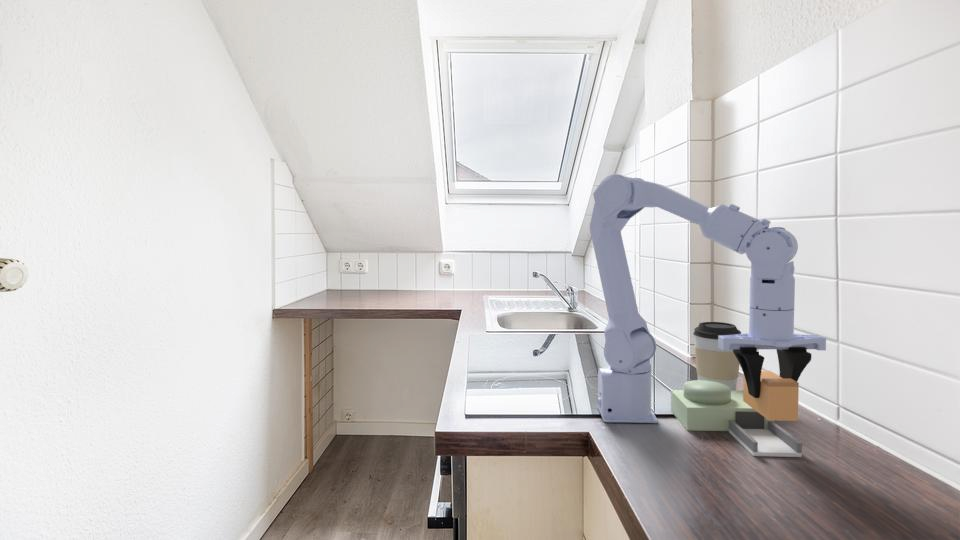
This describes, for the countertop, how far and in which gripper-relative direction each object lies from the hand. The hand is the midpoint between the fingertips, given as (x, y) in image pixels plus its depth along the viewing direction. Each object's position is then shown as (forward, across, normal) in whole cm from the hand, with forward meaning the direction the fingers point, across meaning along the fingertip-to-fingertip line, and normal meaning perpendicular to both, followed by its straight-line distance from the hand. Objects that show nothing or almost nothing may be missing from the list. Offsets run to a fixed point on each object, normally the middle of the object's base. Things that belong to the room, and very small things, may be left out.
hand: (769, 395), depth 71 cm
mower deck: (+8, -3, +7) cm, 11 cm away
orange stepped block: (+2, 0, 0) cm, 2 cm away
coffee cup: (+9, +2, +25) cm, 27 cm away
